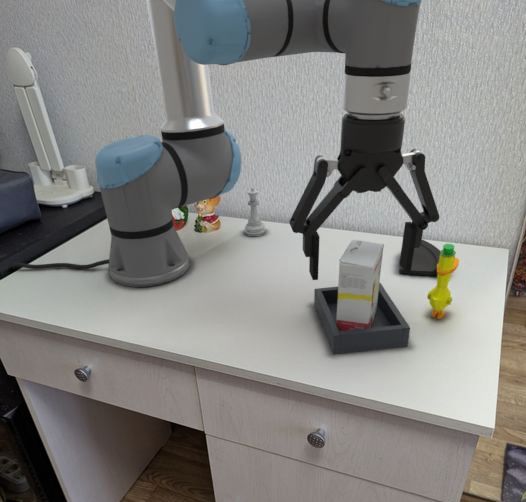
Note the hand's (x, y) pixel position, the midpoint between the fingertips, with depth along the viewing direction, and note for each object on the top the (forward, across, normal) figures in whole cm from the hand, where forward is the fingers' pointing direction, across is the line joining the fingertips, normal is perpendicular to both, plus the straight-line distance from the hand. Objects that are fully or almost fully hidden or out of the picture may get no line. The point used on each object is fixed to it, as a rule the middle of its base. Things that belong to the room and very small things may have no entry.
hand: (359, 272), depth 72 cm
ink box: (+8, 0, -1) cm, 8 cm away
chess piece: (+10, -12, +40) cm, 43 cm away
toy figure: (+9, +14, 0) cm, 16 cm away
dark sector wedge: (+9, +18, +18) cm, 28 cm away
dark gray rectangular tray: (+9, 0, 0) cm, 9 cm away
